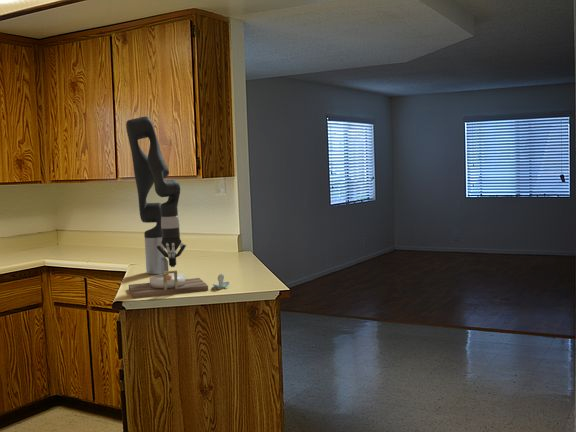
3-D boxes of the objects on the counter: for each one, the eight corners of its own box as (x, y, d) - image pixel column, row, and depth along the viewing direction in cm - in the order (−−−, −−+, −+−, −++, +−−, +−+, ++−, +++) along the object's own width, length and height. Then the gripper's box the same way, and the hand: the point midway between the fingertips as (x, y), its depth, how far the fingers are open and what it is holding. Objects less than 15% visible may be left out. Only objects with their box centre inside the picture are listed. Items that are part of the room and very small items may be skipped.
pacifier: (208, 289, 271) (216, 290, 266) (207, 274, 270) (215, 275, 266) (223, 286, 276) (231, 287, 271) (222, 271, 275) (230, 272, 271)
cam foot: (146, 279, 283) (145, 258, 282) (180, 276, 287) (179, 255, 286) (151, 289, 262) (150, 266, 261) (187, 286, 266) (186, 263, 265)
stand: (128, 289, 274) (127, 267, 273) (199, 282, 284) (198, 261, 283) (133, 298, 257) (131, 275, 256) (208, 290, 267) (207, 268, 266)
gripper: (152, 228, 277) (155, 268, 279) (183, 227, 276) (185, 267, 278) (157, 226, 285) (160, 265, 286) (187, 225, 283) (190, 264, 285)
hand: (173, 266), depth 282 cm, fingers closed
